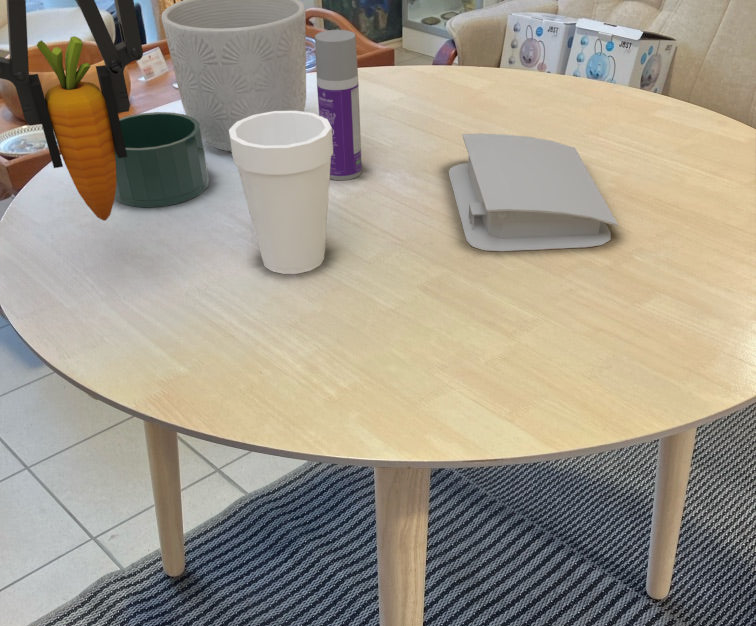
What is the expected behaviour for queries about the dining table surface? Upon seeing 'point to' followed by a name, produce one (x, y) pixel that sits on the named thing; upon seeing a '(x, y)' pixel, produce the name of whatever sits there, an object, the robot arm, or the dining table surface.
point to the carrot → (82, 128)
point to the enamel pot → (160, 160)
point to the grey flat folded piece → (527, 195)
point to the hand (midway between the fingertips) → (88, 156)
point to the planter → (236, 60)
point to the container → (340, 99)
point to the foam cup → (286, 185)
